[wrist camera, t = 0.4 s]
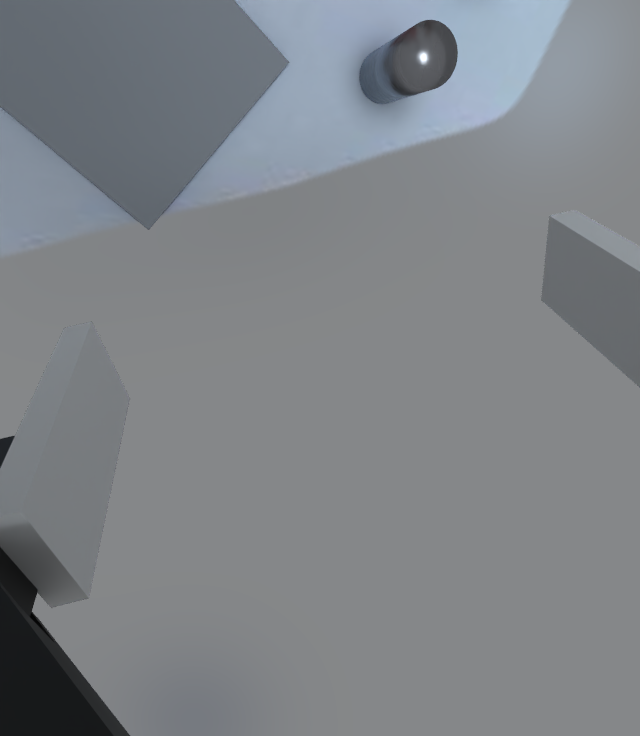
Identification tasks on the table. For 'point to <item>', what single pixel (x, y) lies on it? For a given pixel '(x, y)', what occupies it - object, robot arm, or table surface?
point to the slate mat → (133, 87)
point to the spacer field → (410, 63)
